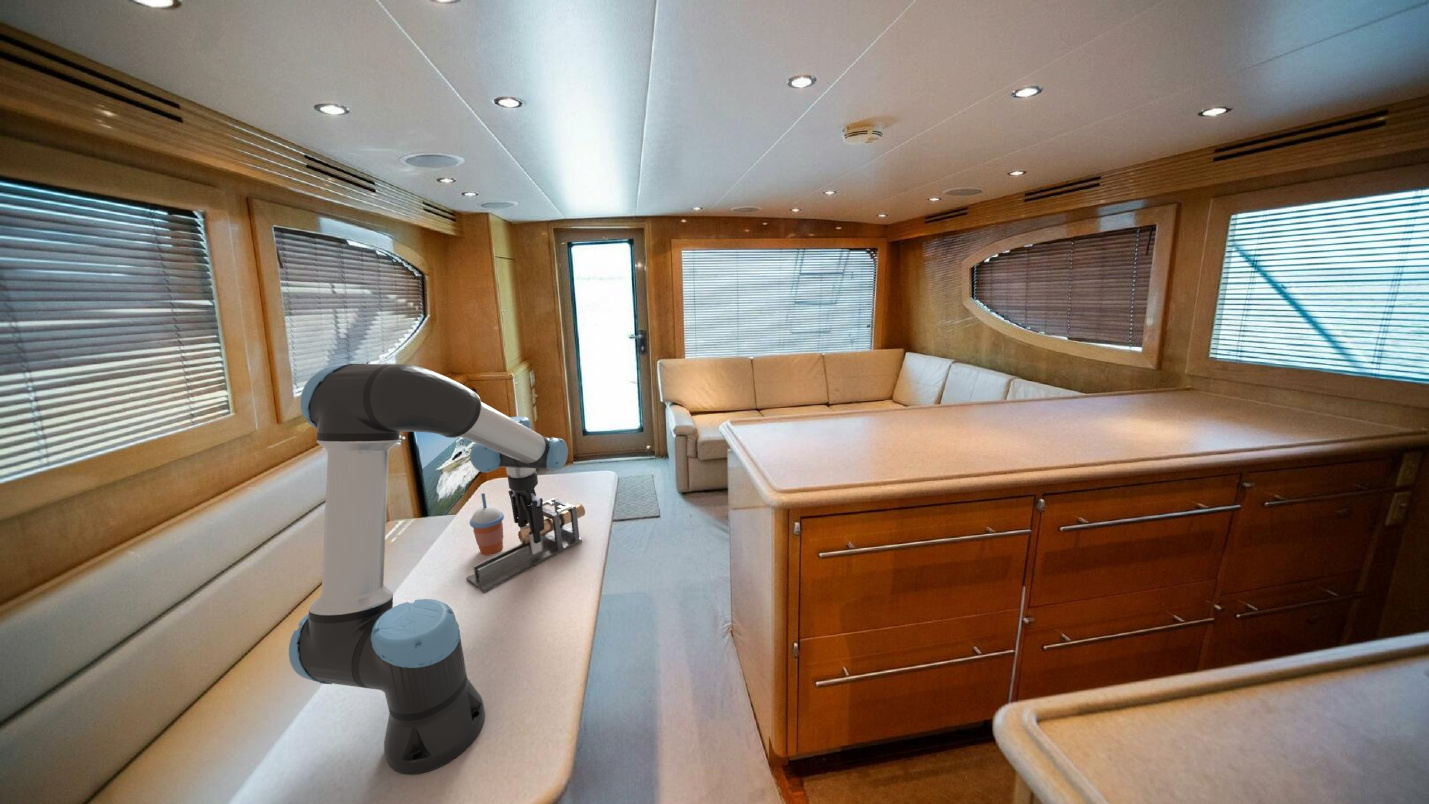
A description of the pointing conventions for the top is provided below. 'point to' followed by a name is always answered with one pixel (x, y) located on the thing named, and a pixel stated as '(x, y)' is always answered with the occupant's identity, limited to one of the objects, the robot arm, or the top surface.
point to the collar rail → (528, 551)
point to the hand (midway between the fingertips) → (532, 549)
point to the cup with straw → (488, 528)
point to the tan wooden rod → (551, 524)
